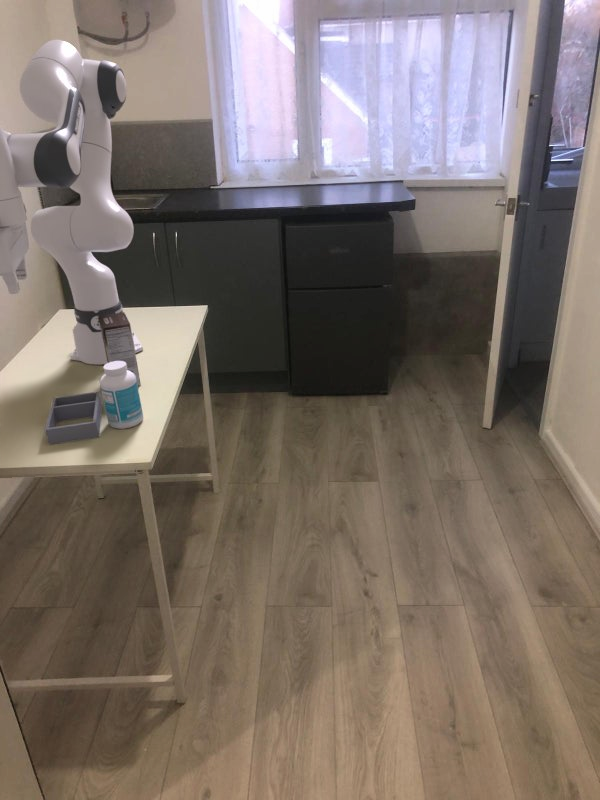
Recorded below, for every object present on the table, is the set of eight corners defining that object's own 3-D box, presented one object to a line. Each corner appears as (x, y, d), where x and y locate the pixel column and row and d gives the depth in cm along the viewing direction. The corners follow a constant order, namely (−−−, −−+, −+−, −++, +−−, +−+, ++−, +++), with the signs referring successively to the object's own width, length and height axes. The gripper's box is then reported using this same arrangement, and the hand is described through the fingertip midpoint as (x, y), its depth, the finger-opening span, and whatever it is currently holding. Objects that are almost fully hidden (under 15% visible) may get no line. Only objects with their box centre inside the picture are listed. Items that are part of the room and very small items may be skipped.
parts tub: (56, 411, 146) (53, 397, 144) (102, 405, 147) (99, 391, 146) (49, 444, 133) (45, 429, 131) (99, 437, 134) (95, 422, 133)
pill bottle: (146, 412, 143) (136, 356, 137) (140, 429, 137) (129, 371, 130) (112, 414, 143) (101, 358, 137) (105, 431, 136) (92, 373, 130)
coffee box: (109, 376, 161) (97, 315, 154) (135, 371, 163) (124, 311, 156) (114, 391, 153) (101, 327, 146) (141, 385, 155) (130, 322, 148)
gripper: (8, 223, 112) (28, 299, 118) (25, 202, 129) (42, 270, 136) (-31, 227, 111) (-9, 304, 117) (-8, 205, 128) (10, 273, 135)
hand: (18, 285), depth 127 cm, fingers open, 8 cm apart
